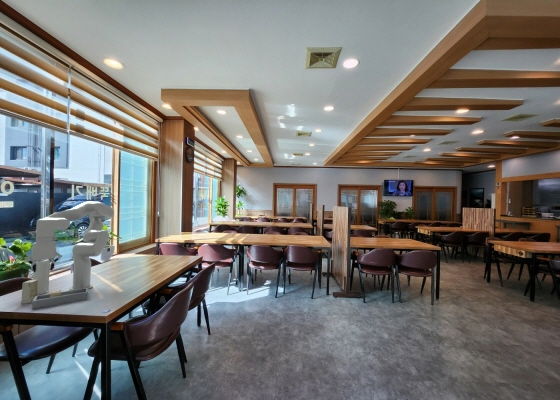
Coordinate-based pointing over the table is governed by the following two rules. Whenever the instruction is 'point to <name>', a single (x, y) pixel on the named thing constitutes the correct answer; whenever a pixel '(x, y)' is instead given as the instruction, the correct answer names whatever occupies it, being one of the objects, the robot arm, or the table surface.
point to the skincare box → (29, 291)
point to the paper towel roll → (42, 276)
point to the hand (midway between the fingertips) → (43, 270)
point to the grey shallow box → (60, 298)
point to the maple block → (55, 293)
